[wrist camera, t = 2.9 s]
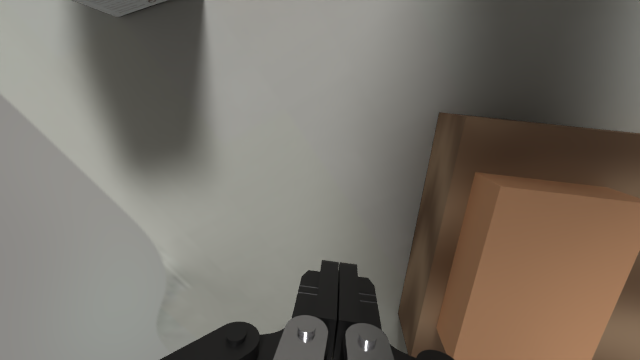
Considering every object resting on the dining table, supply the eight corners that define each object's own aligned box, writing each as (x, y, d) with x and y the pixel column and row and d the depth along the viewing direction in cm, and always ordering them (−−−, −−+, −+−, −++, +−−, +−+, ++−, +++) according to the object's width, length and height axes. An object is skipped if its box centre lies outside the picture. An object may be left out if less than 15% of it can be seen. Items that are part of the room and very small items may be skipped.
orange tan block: (475, 172, 14) (500, 186, 12) (607, 187, 14) (659, 205, 12) (436, 328, 17) (451, 365, 14) (547, 343, 16) (580, 384, 14)
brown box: (439, 112, 17) (466, 116, 13) (731, 143, 17) (847, 156, 13) (398, 313, 21) (409, 361, 17) (633, 346, 20) (701, 404, 16)
